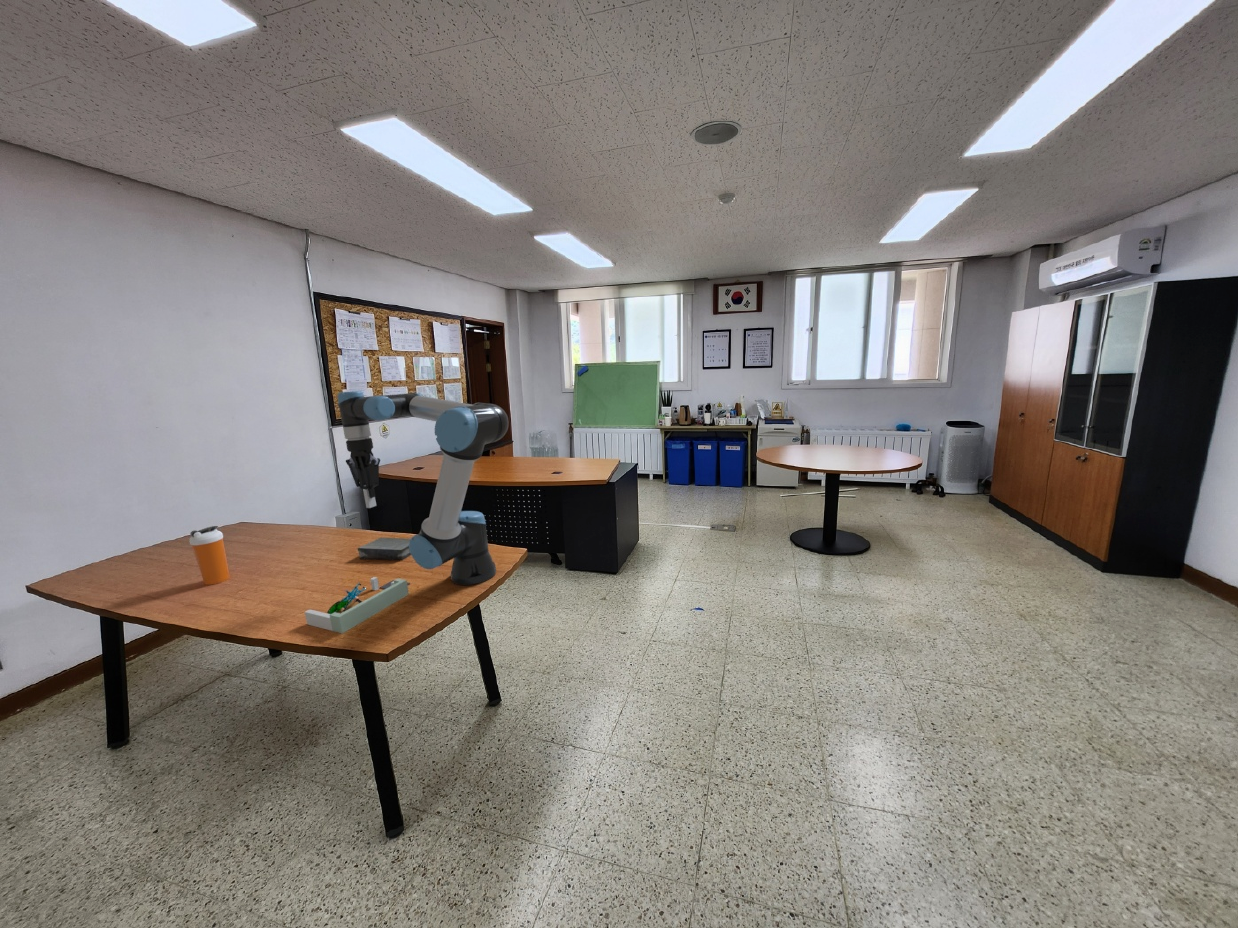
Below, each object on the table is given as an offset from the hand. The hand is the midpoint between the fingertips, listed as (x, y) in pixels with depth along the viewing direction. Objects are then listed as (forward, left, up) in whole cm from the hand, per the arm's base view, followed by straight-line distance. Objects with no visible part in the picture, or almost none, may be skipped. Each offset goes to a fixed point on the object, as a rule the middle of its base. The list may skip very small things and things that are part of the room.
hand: (371, 506), depth 150 cm
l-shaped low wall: (-8, +17, -27) cm, 33 cm away
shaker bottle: (+62, +19, -27) cm, 70 cm away
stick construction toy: (-7, +18, -27) cm, 33 cm away
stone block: (+18, -19, -28) cm, 38 cm away
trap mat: (-8, +3, -27) cm, 28 cm away
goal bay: (-16, +17, -27) cm, 36 cm away
